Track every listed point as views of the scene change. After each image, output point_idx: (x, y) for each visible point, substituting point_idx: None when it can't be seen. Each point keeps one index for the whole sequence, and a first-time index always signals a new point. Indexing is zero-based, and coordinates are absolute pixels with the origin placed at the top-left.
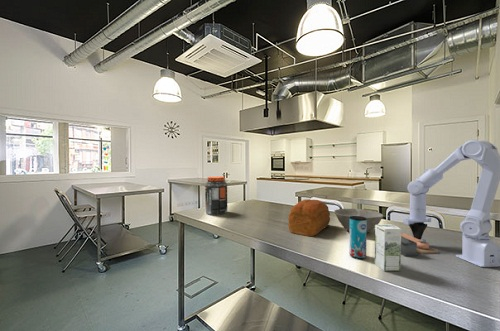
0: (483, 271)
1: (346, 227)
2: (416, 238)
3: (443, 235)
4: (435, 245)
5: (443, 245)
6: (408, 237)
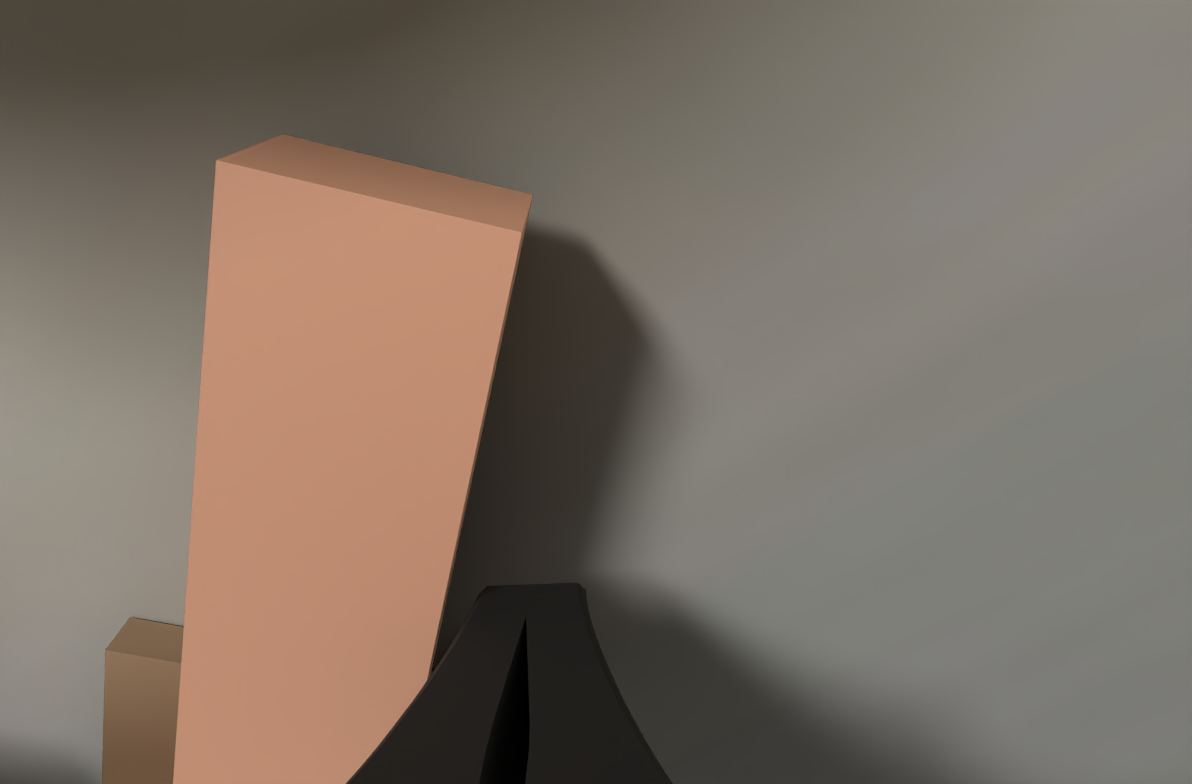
0: None
1: None
2: None
3: None
4: (913, 701)
5: (1085, 746)
6: (226, 610)
